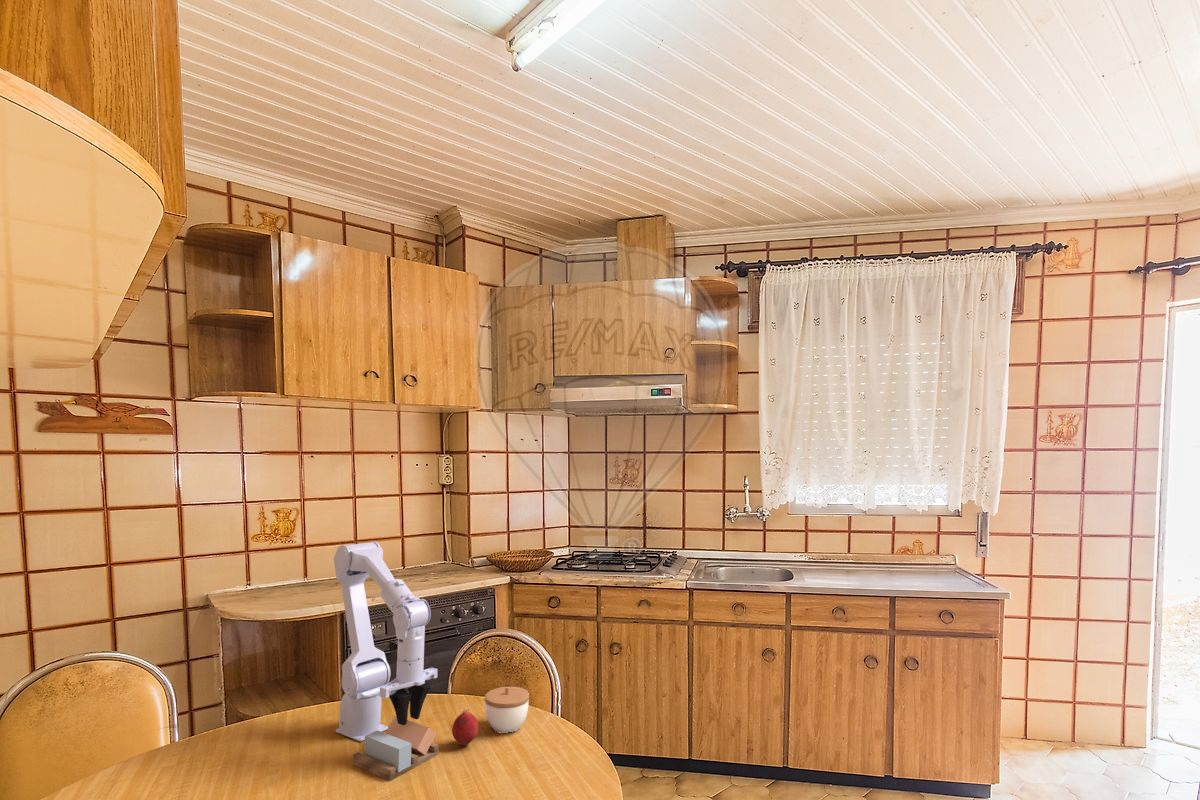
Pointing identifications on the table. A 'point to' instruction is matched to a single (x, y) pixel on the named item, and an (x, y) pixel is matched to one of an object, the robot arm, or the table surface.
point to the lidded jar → (506, 708)
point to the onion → (465, 728)
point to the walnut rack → (390, 771)
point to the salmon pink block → (412, 735)
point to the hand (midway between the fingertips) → (408, 720)
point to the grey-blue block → (388, 750)
